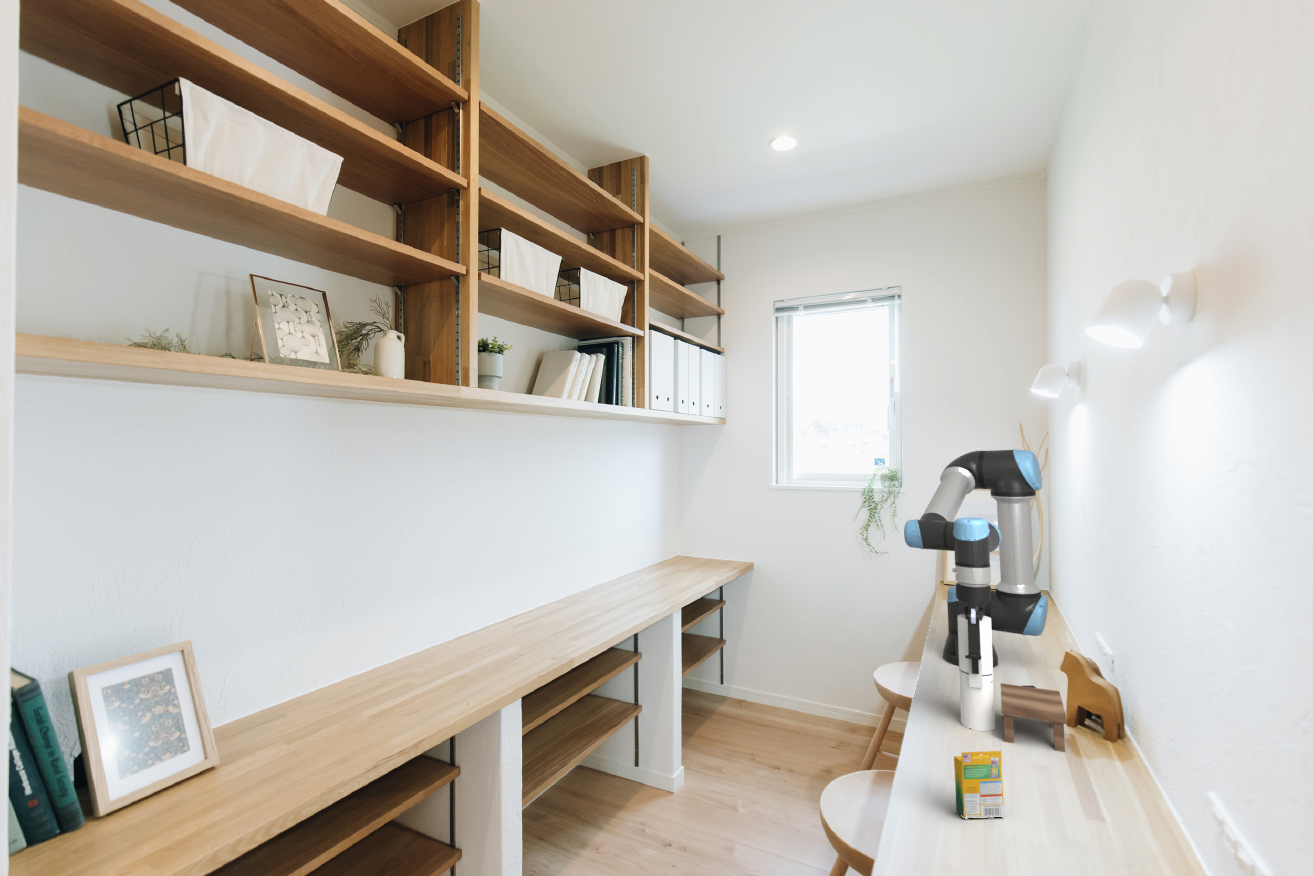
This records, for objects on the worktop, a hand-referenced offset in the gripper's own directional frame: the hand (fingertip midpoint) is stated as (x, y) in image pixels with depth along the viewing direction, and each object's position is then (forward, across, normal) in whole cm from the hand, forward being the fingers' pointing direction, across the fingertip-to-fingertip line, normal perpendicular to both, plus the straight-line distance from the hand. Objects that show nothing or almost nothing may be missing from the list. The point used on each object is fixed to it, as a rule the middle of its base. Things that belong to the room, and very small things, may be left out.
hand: (976, 681), depth 147 cm
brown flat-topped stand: (+10, 0, +11) cm, 15 cm away
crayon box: (+10, +41, +1) cm, 42 cm away
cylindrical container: (+10, 0, 0) cm, 10 cm away
